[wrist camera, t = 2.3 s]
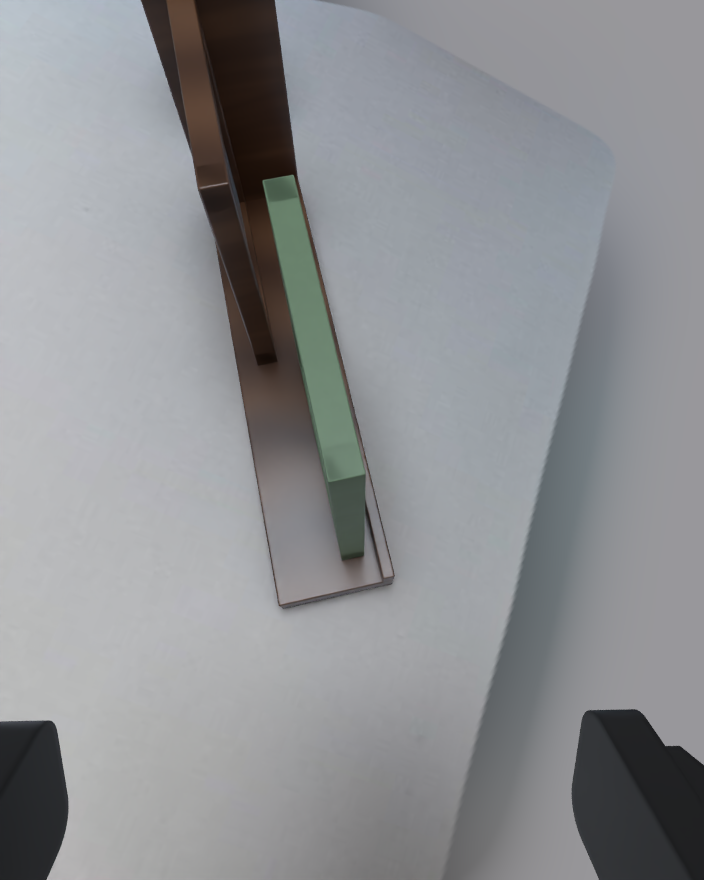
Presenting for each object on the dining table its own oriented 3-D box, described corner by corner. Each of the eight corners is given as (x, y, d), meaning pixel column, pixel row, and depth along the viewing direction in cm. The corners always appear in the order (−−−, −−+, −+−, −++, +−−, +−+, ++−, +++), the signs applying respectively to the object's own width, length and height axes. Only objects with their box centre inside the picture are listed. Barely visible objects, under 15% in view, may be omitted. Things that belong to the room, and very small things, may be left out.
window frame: (392, 583, 33) (419, 504, 17) (282, 608, 33) (209, 550, 17) (298, 194, 42) (261, -86, 27) (211, 210, 42) (123, -64, 26)
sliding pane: (364, 555, 32) (366, 474, 19) (341, 560, 32) (327, 482, 19) (318, 355, 36) (293, 173, 23) (298, 359, 36) (261, 179, 23)
